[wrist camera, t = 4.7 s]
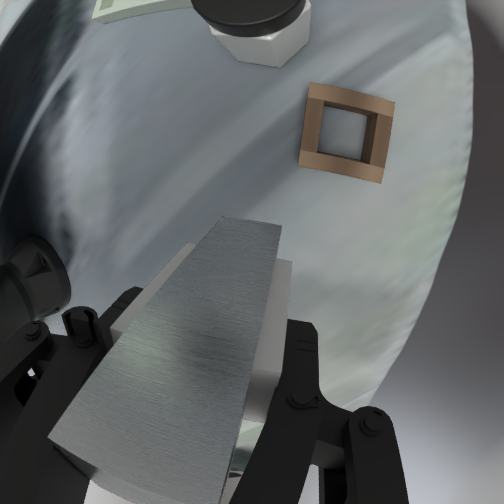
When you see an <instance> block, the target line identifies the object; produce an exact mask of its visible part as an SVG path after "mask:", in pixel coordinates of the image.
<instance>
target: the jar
mask: <svg viewBox="0 0 504 504" xmlns="http://www.w3.org/2000/svg"><path fill="white" fill-rule="evenodd" d="M191 3H192V5H193V7H194V9H195V10H196V11H197V13H198V14H199V15H200V16H201V17H202V18H203V19H204V20H205V21H206V22H207V23H208V25H209V27H210V30H211V33H212V34H213V35H214V36H215V37H216V38H217V39H218V40H219V42H220V43H221V44H222V45H223V46H224V47H225V48H226V49H227V50H228V51H229V52H230V53H231V54H232V55H233V56H234V57H235V58H236V60H237V61H239V62H247V63H254V64H260V65H266V66H272V67H277V68H281V67H282V66H283V65H284V64H285V63H286V62H287V61H288V60H289V59H290V58H291V57H293V56H294V55H295V54H296V53H297V52H298V51H299V50H300V49H301V48H302V47H304V46H305V45H306V44H307V43H308V42H309V34H310V19H311V4H310V2H309V0H191Z"/></svg>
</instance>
